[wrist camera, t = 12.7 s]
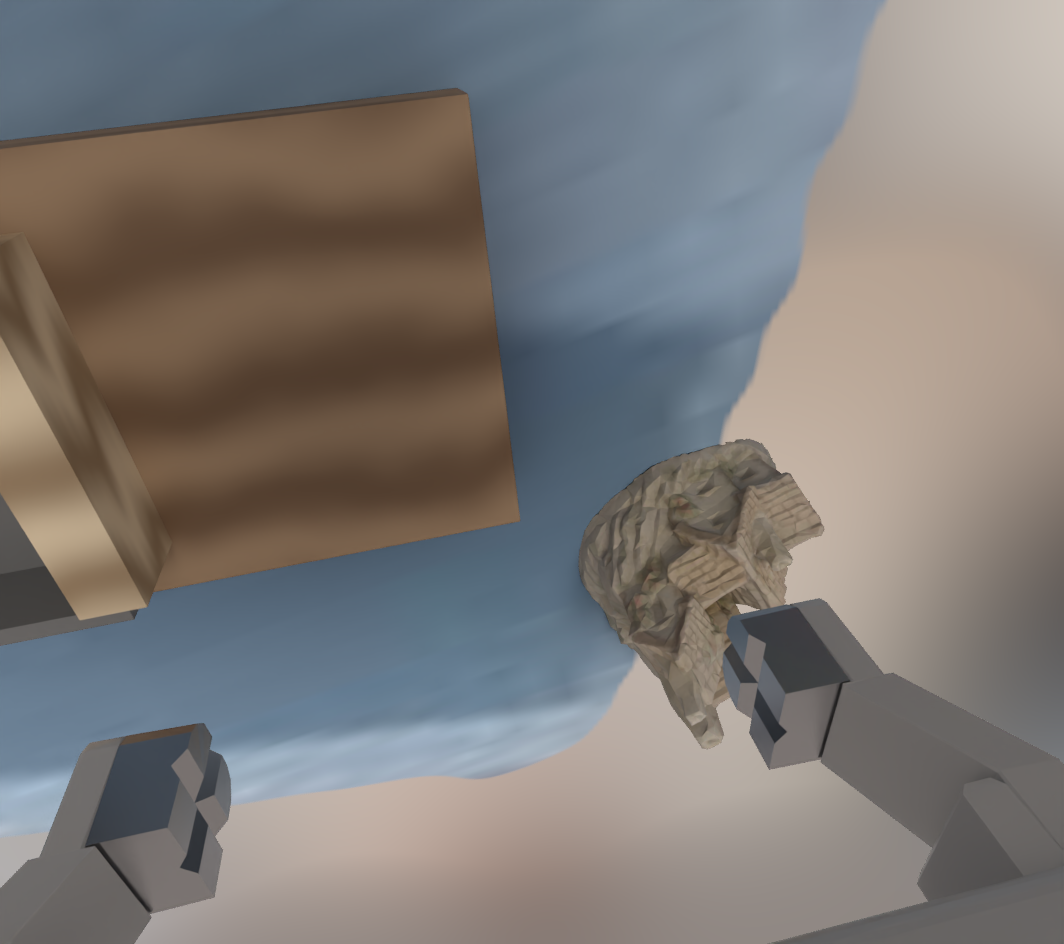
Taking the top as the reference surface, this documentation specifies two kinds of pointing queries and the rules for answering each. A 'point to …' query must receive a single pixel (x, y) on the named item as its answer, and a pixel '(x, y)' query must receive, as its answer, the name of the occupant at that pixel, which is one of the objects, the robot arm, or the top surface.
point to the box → (34, 591)
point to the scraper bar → (68, 454)
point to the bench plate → (283, 322)
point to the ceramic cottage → (695, 564)
